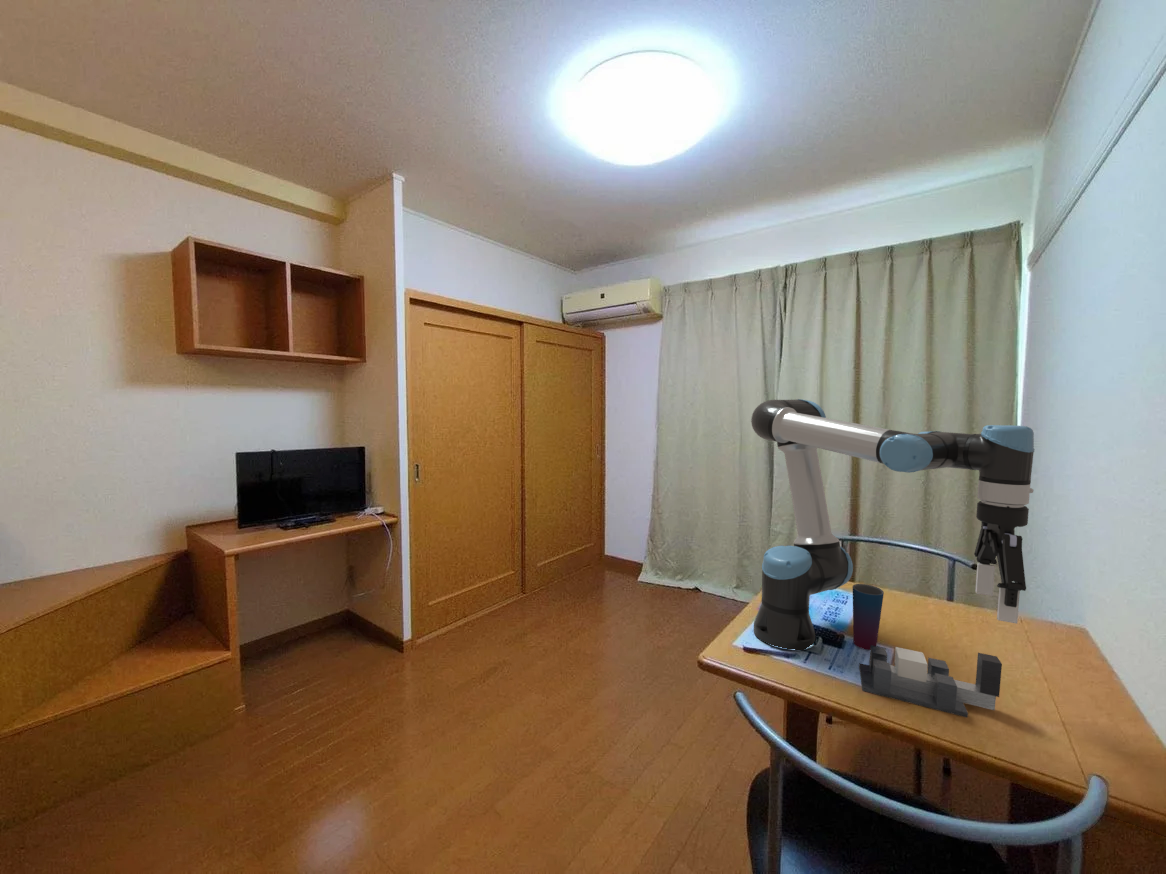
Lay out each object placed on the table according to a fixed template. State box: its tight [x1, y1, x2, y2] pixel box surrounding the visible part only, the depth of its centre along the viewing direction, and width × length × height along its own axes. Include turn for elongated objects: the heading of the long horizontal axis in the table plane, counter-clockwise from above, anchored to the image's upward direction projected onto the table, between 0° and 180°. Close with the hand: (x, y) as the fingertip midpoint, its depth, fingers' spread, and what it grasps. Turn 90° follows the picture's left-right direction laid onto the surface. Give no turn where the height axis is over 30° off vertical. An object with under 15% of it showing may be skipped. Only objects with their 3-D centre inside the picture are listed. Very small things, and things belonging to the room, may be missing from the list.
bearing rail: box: [858, 645, 969, 718], centre depth 99 cm, size 18×10×6 cm, turn 62°
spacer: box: [894, 646, 928, 682], centre depth 99 cm, size 5×5×4 cm
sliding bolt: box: [890, 652, 1003, 711], centre depth 97 cm, size 20×3×10 cm, turn 62°
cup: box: [852, 583, 885, 651], centre depth 117 cm, size 7×7×15 cm
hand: (994, 606), depth 91 cm, fingers open, 13 cm apart
